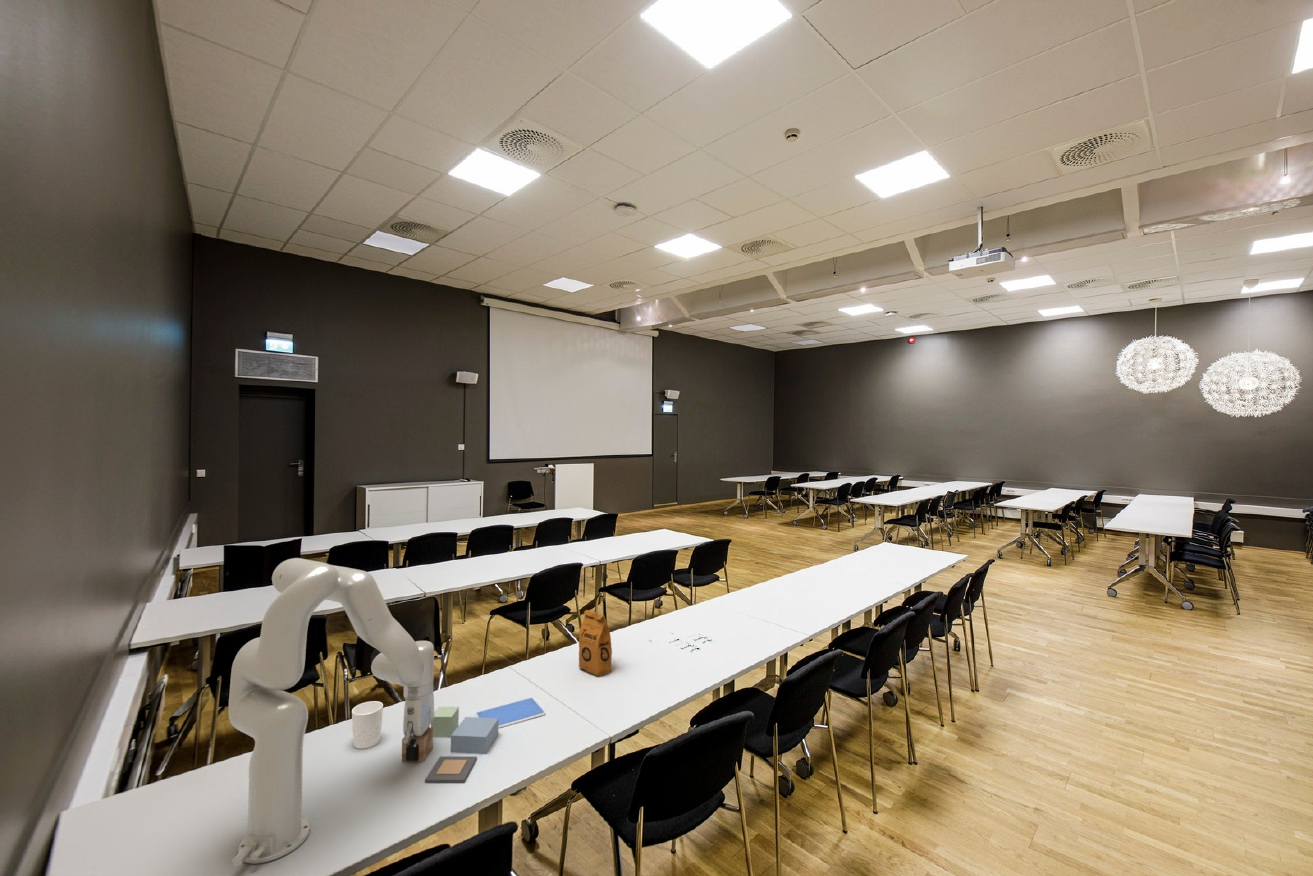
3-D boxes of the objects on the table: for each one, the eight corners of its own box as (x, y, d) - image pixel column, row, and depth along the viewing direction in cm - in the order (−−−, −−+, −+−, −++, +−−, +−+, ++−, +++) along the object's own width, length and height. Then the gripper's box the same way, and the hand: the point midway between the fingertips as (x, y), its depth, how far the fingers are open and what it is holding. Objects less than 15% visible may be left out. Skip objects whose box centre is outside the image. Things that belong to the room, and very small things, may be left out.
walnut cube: (423, 761, 145) (424, 739, 145) (401, 761, 145) (402, 739, 145) (432, 748, 151) (433, 727, 151) (411, 748, 151) (411, 727, 151)
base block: (485, 755, 149) (485, 737, 149) (450, 753, 149) (450, 735, 149) (498, 735, 159) (498, 718, 159) (465, 733, 159) (465, 717, 159)
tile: (464, 783, 136) (464, 778, 136) (424, 782, 136) (425, 778, 136) (476, 759, 146) (476, 755, 146) (440, 759, 146) (440, 755, 146)
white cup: (347, 752, 149) (348, 716, 149) (355, 737, 156) (356, 702, 156) (378, 748, 151) (379, 712, 151) (385, 733, 158) (385, 699, 158)
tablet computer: (484, 734, 160) (485, 730, 160) (474, 716, 170) (474, 711, 170) (546, 716, 170) (546, 712, 170) (532, 700, 181) (532, 696, 181)
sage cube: (451, 737, 157) (451, 717, 157) (430, 737, 157) (431, 716, 157) (458, 726, 163) (458, 706, 163) (438, 726, 163) (438, 706, 163)
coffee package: (595, 679, 196) (595, 619, 196) (575, 669, 205) (575, 611, 205) (615, 671, 203) (616, 614, 203) (595, 661, 212) (596, 606, 212)
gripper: (419, 703, 139) (417, 772, 139) (444, 674, 157) (443, 736, 157) (390, 703, 139) (388, 772, 139) (418, 674, 156) (417, 735, 156)
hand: (417, 752), depth 148 cm, fingers closed on walnut cube, 6 cm apart
